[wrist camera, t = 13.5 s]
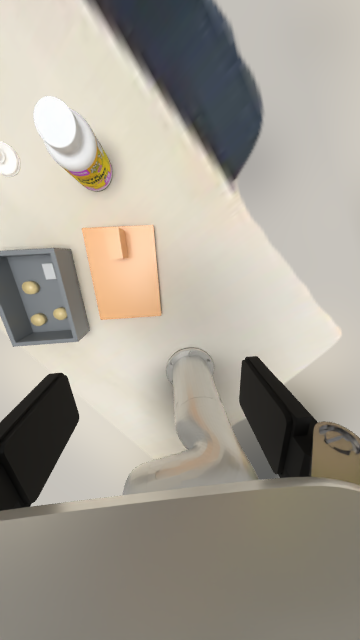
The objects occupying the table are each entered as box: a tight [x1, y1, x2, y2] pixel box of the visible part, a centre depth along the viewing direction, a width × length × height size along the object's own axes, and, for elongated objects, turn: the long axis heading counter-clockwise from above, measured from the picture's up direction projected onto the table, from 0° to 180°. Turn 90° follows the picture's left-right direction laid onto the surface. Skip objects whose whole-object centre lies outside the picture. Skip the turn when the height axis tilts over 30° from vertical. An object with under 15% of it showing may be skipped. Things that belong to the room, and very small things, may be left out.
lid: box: [82, 225, 161, 320], centre depth 37 cm, size 19×14×7 cm
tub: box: [0, 248, 90, 347], centre depth 37 cm, size 18×13×6 cm
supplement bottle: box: [34, 96, 112, 191], centre depth 27 cm, size 7×7×13 cm
